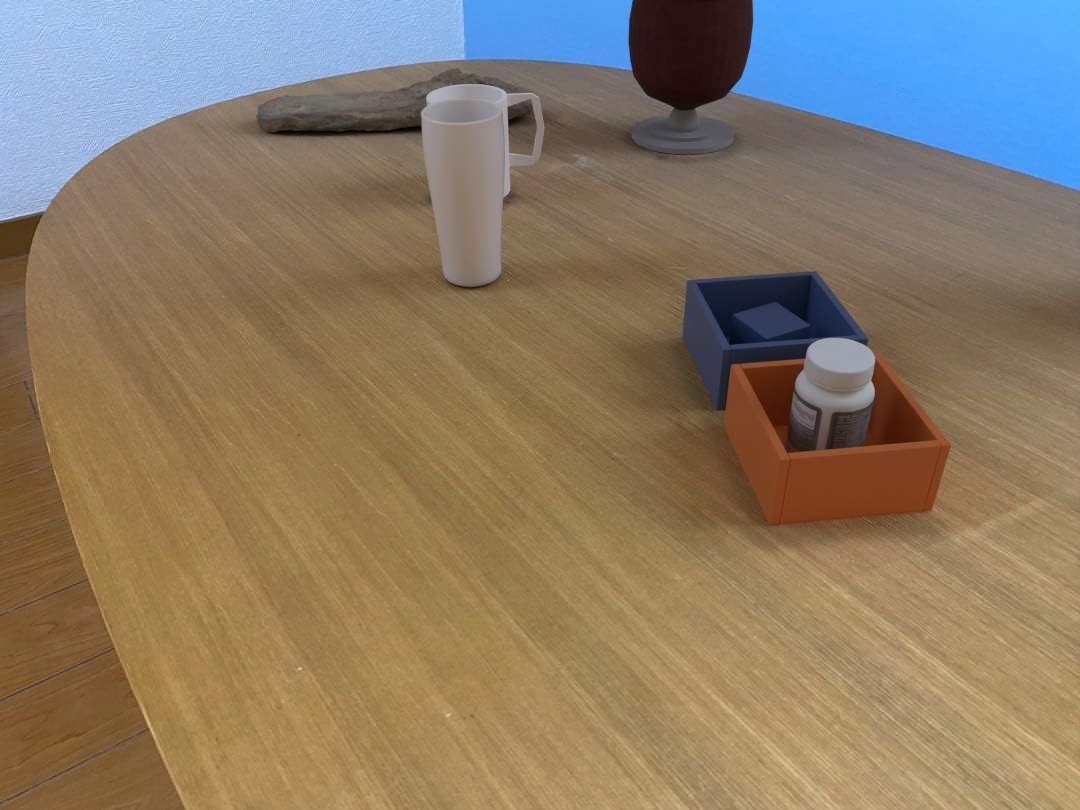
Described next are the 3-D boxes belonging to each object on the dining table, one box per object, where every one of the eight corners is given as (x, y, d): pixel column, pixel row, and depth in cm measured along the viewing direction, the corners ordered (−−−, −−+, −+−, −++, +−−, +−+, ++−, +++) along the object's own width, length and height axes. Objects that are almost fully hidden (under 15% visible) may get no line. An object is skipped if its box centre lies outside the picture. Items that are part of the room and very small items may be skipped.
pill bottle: (860, 449, 62) (885, 340, 57) (855, 493, 59) (880, 381, 54) (787, 435, 63) (805, 328, 59) (777, 477, 60) (796, 367, 55)
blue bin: (805, 333, 76) (816, 270, 72) (854, 405, 67) (869, 338, 64) (681, 342, 75) (686, 279, 71) (715, 416, 66) (723, 349, 63)
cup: (548, 201, 98) (547, 105, 92) (433, 206, 98) (425, 110, 92) (542, 172, 105) (541, 81, 99) (434, 177, 104) (427, 85, 98)
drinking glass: (424, 289, 83) (407, 121, 74) (448, 256, 88) (435, 95, 79) (498, 297, 81) (489, 126, 73) (518, 262, 87) (512, 99, 78)
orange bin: (864, 420, 66) (879, 352, 63) (930, 517, 57) (951, 444, 54) (722, 432, 65) (730, 363, 62) (768, 532, 57) (780, 459, 53)
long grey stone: (268, 124, 124) (258, 155, 116) (258, 84, 120) (246, 113, 113) (532, 97, 125) (539, 126, 117) (529, 57, 121) (536, 84, 114)
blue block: (769, 346, 73) (775, 301, 70) (803, 371, 70) (811, 325, 68) (726, 359, 71) (732, 313, 69) (759, 385, 68) (766, 338, 66)
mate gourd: (666, 165, 106) (678, -27, 94) (603, 129, 116) (607, -48, 104) (775, 141, 112) (799, -43, 100) (706, 109, 122) (721, -61, 110)
